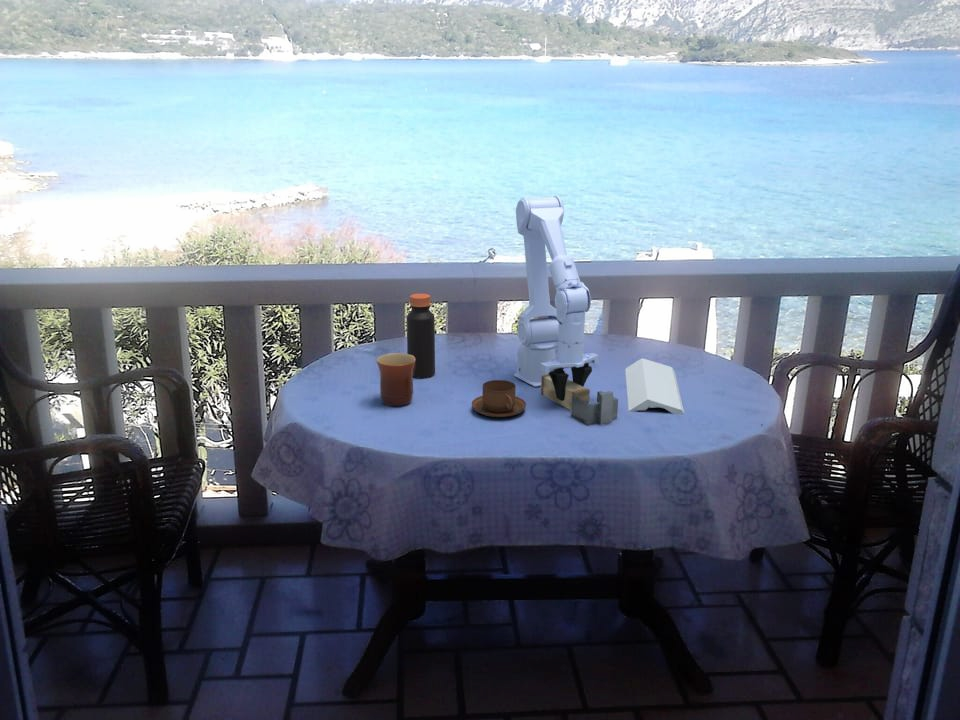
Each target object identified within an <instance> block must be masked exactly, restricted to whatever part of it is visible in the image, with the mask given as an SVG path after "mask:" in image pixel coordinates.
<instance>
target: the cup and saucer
mask: <svg viewBox="0 0 960 720" xmlns="http://www.w3.org/2000/svg"><path fill="white" fill-rule="evenodd" d="M516 388H517V385H516V384H515V383H514V382H512V381H509V380H504V379H494V380H493V379H492V380H487V381H485V382H484V383H482V395H480V396H478V397H475V398H474V399H473V400H472V402H471V407H472V408H473V410H474V411H476V412H477V413H478V414H480V415H483V416H486V417H490V418H491V417H492V418H507V417H512V416H516V415H519V414H521V412H524V410H525V408H526V406H527V402H526V401H525V400H524V399H522V398H521V397H518V396H516V391H517V389H516Z"/></svg>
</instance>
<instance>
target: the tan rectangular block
mask: <svg viewBox="0 0 960 720" xmlns="http://www.w3.org/2000/svg"><path fill="white" fill-rule="evenodd" d="M540 387H541V388H540V395H542V396H544V397H546V398H548V399H549V400H551V401H553V402H554V403H556V404H559V406H562V407H564V408H566V409H568V410H569V411H571V407H572V397H575V396H576V397H578V398H580V399H581V400H583V401H585V402H587V403H589V404H590V392H591V390H590V388H586V387H585V386H584V387H582V386H580V385H578V384H576V383H574V382H573V380H571V379H569V378H568V379H567V383H566V388H565V398H564V401H561V400H559V399H557V398H556V392H555V388H554V385H553V382H552V380H551V377H550V376H549V374H548V375H543V376H542V380H541V386H540Z"/></svg>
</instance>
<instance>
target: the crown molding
mask: <svg viewBox="0 0 960 720" xmlns="http://www.w3.org/2000/svg"><path fill="white" fill-rule="evenodd" d="M624 370H625V372H624V373H625V382H626V394H627V407H628V408H627V409H628V411H629V412H637V411H640V412H641V411H646V410H648V409H649V408H650V409H652V408H653V409H655V408H661V409H665V410H666V411H668V412H669V413H671V414H676V415H678V414H679V415H685V410H684V409H685V408H684V407H683V402H682V398H681V393H680V389H679V384H678V380H677V376H676V372H675V370H674V368H673V367H672V366H669V365H666V364H664V363H663V364H662V363H659V362H658V361H657V362H656V361H652V360H650V359H647V358H639V359H638V360H636V361H635V362H634V363H632V364H631V365H629V366H627V367H625V369H624Z"/></svg>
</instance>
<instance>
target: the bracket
mask: <svg viewBox="0 0 960 720" xmlns="http://www.w3.org/2000/svg"><path fill="white" fill-rule="evenodd" d="M618 408H619V399H618V398H617V397H614V392H613V391H610V390H608V391H603V390H599V391H597V395H596V402H591V403H590V402H589V403H587V402H585V401H583V400H581V399H580V398H578V397H576V396H575V397H572V407H571V410H570V417H572V418H574V419H576V420H577V421H578V422H579V421H580V422H581V423H583V424H585V425H587V426H591V425H595V424H598V425H600V426H601V425H605V424H606V425H607V424H609V423H612V421H613V420H616V419H618V411H619V409H618Z"/></svg>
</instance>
